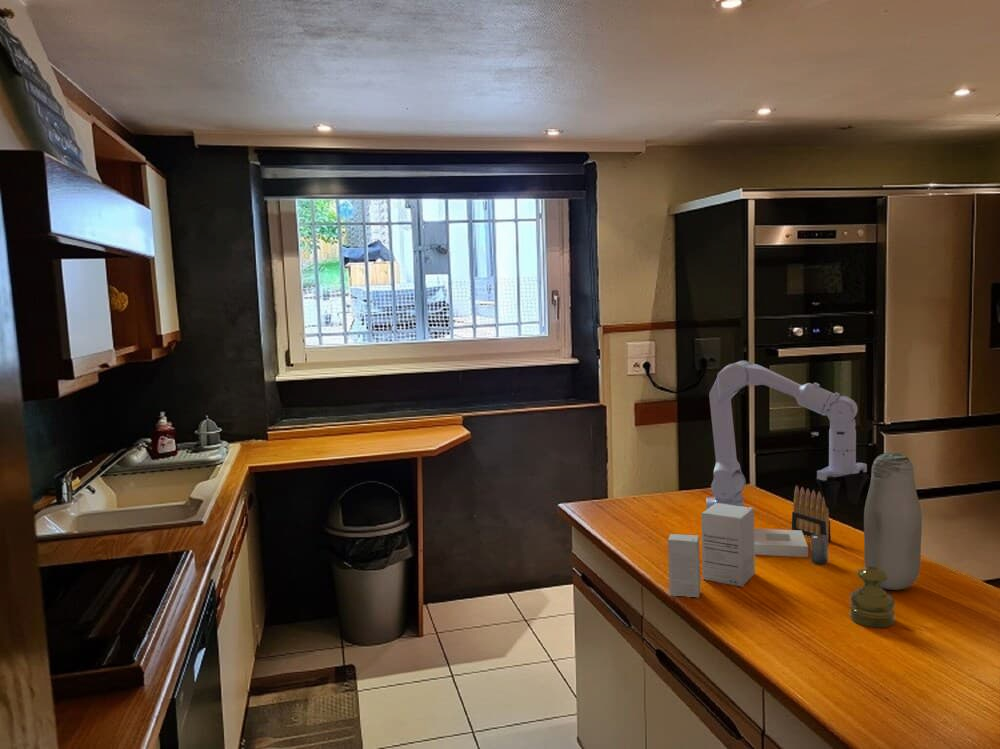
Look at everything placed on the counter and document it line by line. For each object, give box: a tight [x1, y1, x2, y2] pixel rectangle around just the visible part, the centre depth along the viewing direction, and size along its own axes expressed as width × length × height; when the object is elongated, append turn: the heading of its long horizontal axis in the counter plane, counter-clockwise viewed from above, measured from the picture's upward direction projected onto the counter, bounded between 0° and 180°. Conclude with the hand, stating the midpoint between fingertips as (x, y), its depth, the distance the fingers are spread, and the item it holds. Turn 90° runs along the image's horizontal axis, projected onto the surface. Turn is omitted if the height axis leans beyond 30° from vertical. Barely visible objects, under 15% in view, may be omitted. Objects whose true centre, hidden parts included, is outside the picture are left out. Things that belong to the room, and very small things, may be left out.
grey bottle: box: [863, 452, 923, 591], centre depth 153 cm, size 10×10×28 cm
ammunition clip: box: [791, 485, 832, 542], centre depth 187 cm, size 11×2×12 cm, turn 25°
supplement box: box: [700, 503, 756, 587], centre depth 163 cm, size 9×9×15 cm
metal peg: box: [810, 534, 829, 566], centre depth 170 cm, size 4×4×6 cm
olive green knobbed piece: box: [849, 567, 895, 629], centre depth 139 cm, size 7×7×10 cm
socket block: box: [754, 528, 809, 558], centre depth 181 cm, size 12×12×2 cm
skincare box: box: [667, 533, 701, 599], centre depth 155 cm, size 6×4×12 cm
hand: (842, 505), depth 177 cm, fingers open, 7 cm apart
